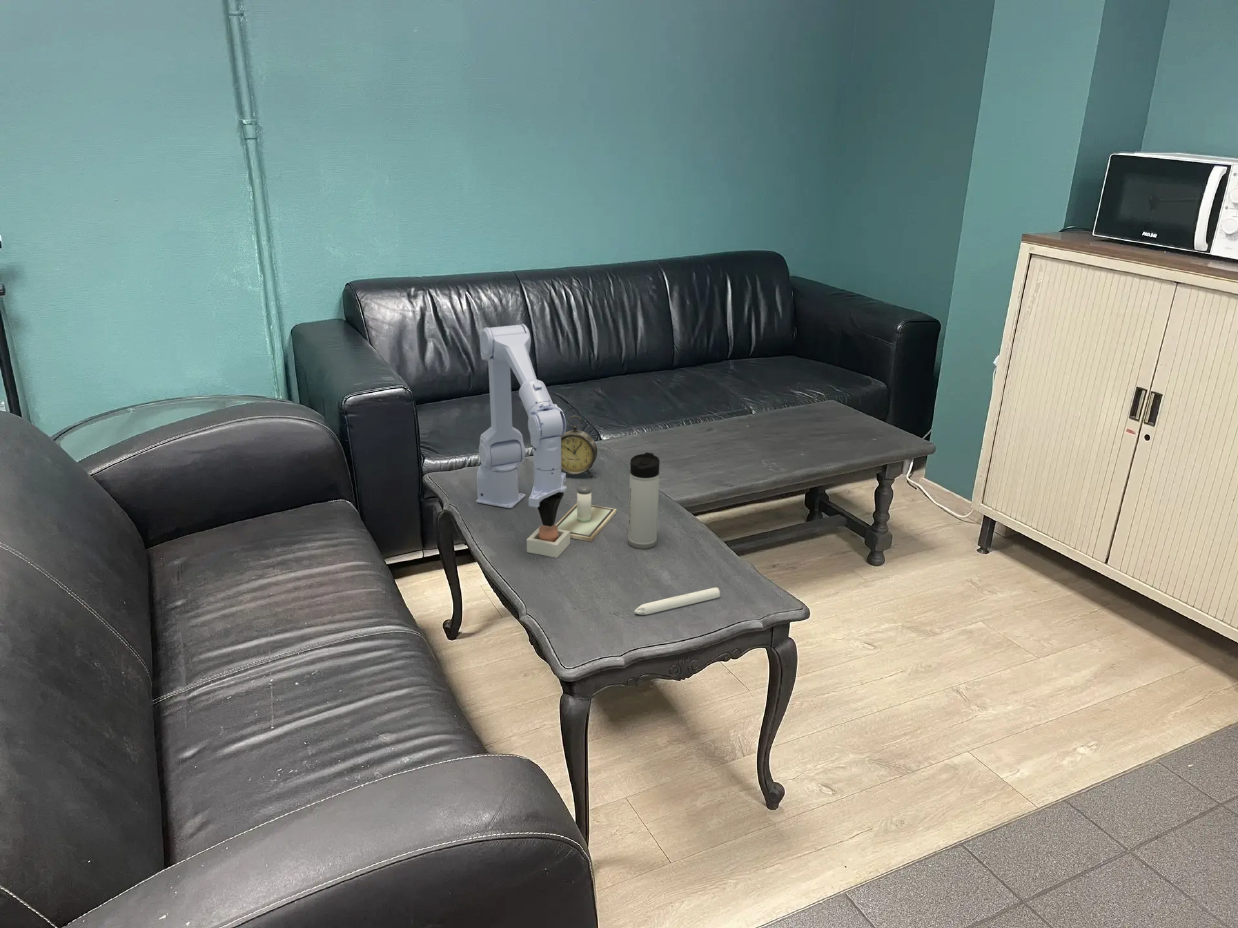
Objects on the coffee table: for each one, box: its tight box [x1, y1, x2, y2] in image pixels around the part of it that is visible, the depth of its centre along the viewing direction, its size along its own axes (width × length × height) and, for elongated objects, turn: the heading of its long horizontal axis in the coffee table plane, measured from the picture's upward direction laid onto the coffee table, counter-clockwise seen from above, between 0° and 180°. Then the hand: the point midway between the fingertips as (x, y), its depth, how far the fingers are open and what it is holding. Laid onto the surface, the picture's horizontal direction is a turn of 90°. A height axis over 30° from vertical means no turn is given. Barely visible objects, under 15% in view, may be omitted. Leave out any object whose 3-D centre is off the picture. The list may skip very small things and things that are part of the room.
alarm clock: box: [560, 415, 598, 478], centre depth 218 cm, size 11×5×16 cm, turn 80°
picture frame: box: [555, 502, 618, 542], centre depth 195 cm, size 10×16×1 cm, turn 160°
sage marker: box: [576, 484, 592, 523], centre depth 194 cm, size 3×3×8 cm
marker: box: [633, 587, 721, 616], centre depth 163 cm, size 18×2×2 cm, turn 114°
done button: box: [538, 524, 558, 542], centre depth 183 cm, size 4×4×3 cm
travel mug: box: [627, 452, 661, 550], centre depth 184 cm, size 6×7×20 cm
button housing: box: [526, 527, 571, 559], centre depth 184 cm, size 7×7×3 cm
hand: (548, 524), depth 182 cm, fingers closed
